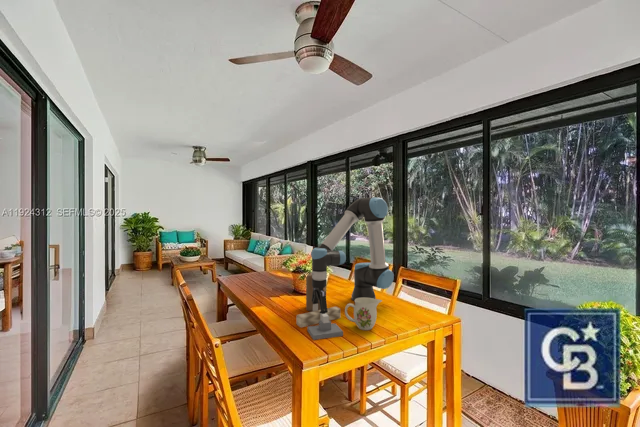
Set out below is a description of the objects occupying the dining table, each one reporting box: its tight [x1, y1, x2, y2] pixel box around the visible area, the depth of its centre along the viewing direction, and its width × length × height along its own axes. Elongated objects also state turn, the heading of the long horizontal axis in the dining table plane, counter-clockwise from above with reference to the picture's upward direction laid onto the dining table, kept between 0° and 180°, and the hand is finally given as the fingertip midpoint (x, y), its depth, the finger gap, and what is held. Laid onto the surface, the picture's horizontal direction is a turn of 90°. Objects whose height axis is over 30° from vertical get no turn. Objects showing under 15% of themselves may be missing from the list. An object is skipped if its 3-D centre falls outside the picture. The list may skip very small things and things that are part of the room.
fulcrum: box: [307, 314, 344, 341], centre depth 136 cm, size 14×10×8 cm
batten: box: [295, 306, 342, 328], centre depth 151 cm, size 24×4×5 cm, turn 122°
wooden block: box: [305, 271, 327, 312], centre depth 169 cm, size 10×10×20 cm
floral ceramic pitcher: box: [344, 297, 383, 331], centre depth 143 cm, size 11×18×14 cm, turn 76°
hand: (318, 320), depth 151 cm, fingers open, 12 cm apart
